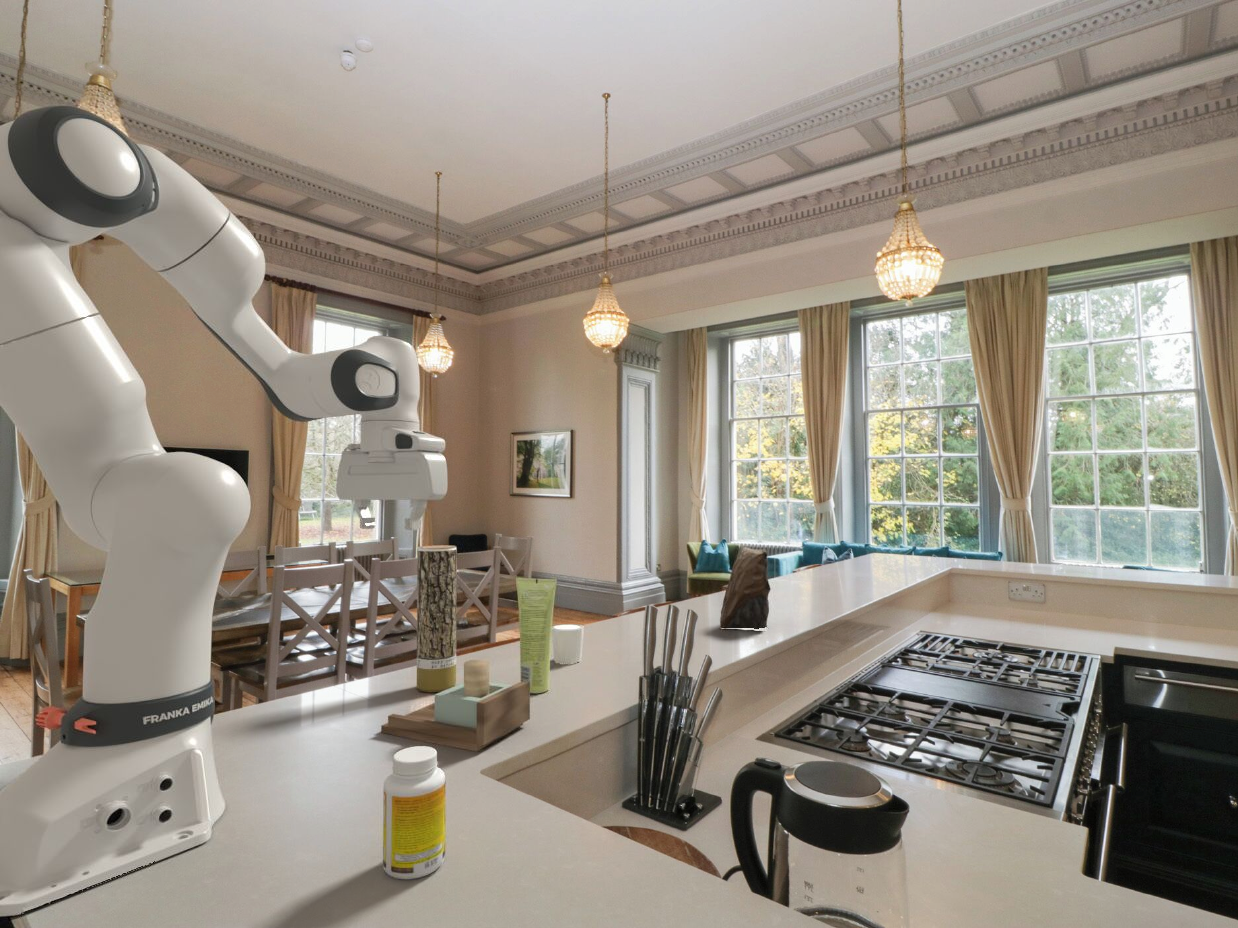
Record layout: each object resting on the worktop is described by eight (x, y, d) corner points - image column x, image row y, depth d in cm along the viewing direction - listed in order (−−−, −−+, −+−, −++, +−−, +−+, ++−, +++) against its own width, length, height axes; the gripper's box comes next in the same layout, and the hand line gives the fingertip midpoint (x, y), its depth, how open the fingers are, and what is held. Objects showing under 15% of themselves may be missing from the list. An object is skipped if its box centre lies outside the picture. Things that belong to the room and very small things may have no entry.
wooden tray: (483, 752, 88) (483, 703, 88) (381, 732, 96) (381, 687, 96) (529, 725, 98) (529, 681, 99) (433, 709, 106) (433, 668, 106)
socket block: (482, 739, 90) (482, 702, 90) (434, 730, 94) (434, 694, 94) (517, 720, 98) (517, 685, 98) (471, 712, 101) (471, 679, 101)
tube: (545, 684, 120) (545, 575, 121) (557, 691, 115) (557, 578, 116) (515, 688, 117) (515, 577, 118) (526, 696, 112) (526, 580, 113)
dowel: (479, 731, 93) (478, 666, 94) (459, 727, 95) (458, 664, 95) (494, 723, 96) (494, 660, 97) (475, 720, 98) (474, 658, 98)
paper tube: (461, 682, 121) (462, 545, 122) (448, 694, 114) (448, 548, 115) (425, 681, 121) (426, 545, 122) (410, 693, 115) (411, 548, 116)
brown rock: (736, 620, 178) (735, 545, 178) (782, 625, 171) (781, 547, 172) (717, 628, 167) (716, 549, 168) (765, 634, 160) (764, 551, 161)
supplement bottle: (456, 864, 62) (457, 752, 62) (402, 890, 58) (403, 771, 58) (425, 842, 66) (425, 737, 66) (371, 866, 62) (372, 754, 62)
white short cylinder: (547, 658, 138) (547, 624, 139) (579, 655, 140) (579, 622, 141) (554, 666, 132) (554, 631, 132) (588, 663, 134) (588, 628, 134)
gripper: (326, 442, 106) (325, 529, 106) (426, 437, 97) (425, 531, 97) (357, 445, 112) (356, 527, 111) (454, 440, 103) (453, 529, 103)
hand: (389, 529), depth 104 cm, fingers open, 8 cm apart
